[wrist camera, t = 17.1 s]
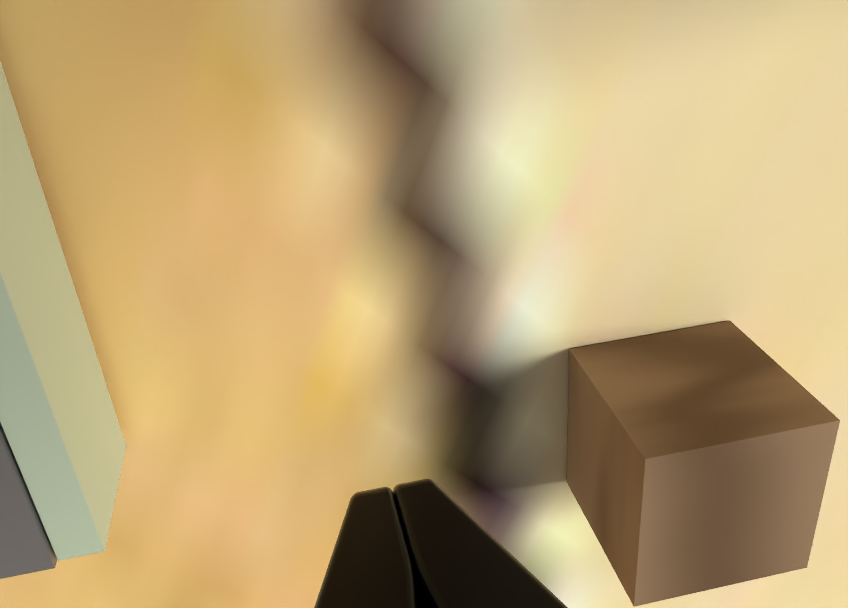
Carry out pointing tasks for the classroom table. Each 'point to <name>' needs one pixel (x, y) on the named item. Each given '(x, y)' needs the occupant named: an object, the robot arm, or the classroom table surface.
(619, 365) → the brown wooden cube
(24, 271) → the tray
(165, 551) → the classroom table surface
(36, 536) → the block
